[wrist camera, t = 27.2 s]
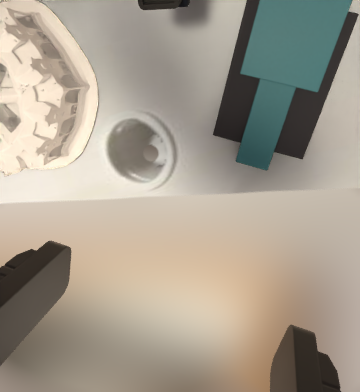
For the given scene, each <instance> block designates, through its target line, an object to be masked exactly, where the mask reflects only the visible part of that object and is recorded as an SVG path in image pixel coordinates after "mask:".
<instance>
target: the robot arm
mask: <svg viewBox="0 0 360 392" xmlns="http://www.w3.org/2000/svg"><path fill="white" fill-rule="evenodd" d="M70 261H71V248H70V247H68V246H65V245H62V244H60V243H57V242H54V241H48V242H47V243H45V244H44V245H43V246H42V247H41V248H39V249H38V250H37V251H36V250H33V249H30V250H28V251H25V252H23V253H20V254H18V255H16V256H15V257H13V258H12V259H11V260H10V261H8V262H7V263H6V264H5V266H2V267H1V268H0V366H1V364H2V363H3V362H4V361H5V360H6V359H7V358H8V357H9V355H10V354H11V353H12V352H13V351H14V350H15V349H16V347H17V346H18V345H19V344H20V343H21V342H22V341H23V340H24V338H25V337H26V336H27V335H28V334H29V333H30V331H32V329H33V328H34V327H35V326H36V325H37V324H38V322H39V321H40V320H41V319H42V318H43V317H44V315H46V314H47V312H48V311H49V310H50V309H51V308H52V307H53V306H54V304H55V303H56V302H57V301H58V300H59V299H60V298H61V296H62V295H63V294H64V292H65V290H66V288H67V286H68V282H69V275H70ZM270 392H341V391H340V384H339V379H338V373H337V370H336V369H335V367H334V365H333V363H332V362H331V360H330V358H329V357H328V355H326V354H323V353H320V352H318V351H317V343H316V337H315V334H314V333H313V332H311V331H308V330H305V329H302V328H299V327H296V326H294V325H290V326H289V327H288V328H287V331H286V333H285V335H284V337H283V339H282V341H281V343H280V345H279V347H278V350H277V352H276V354H275V356H274V358H273V362H272V366H271V373H270Z"/></svg>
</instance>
